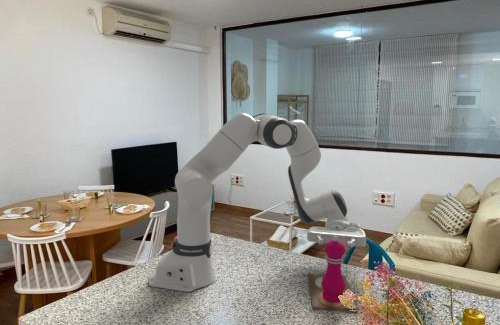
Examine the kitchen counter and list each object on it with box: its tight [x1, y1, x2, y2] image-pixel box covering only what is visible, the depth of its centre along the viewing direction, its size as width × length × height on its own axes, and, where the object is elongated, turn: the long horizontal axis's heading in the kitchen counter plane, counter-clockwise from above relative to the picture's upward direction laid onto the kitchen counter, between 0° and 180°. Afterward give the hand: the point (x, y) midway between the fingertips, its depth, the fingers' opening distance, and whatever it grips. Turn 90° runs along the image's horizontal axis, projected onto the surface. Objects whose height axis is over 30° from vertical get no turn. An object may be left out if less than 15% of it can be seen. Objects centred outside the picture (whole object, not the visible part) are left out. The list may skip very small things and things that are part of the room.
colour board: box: [306, 273, 358, 312], centre depth 121 cm, size 13×22×1 cm, turn 175°
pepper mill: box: [321, 236, 346, 303], centre depth 113 cm, size 7×7×20 cm
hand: (335, 244), depth 124 cm, fingers open, 8 cm apart
